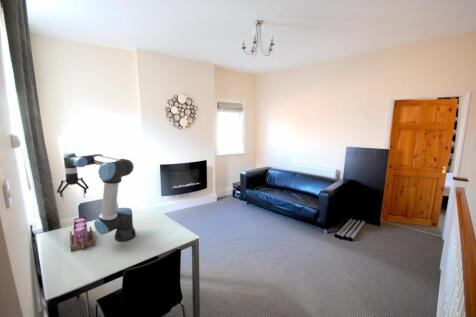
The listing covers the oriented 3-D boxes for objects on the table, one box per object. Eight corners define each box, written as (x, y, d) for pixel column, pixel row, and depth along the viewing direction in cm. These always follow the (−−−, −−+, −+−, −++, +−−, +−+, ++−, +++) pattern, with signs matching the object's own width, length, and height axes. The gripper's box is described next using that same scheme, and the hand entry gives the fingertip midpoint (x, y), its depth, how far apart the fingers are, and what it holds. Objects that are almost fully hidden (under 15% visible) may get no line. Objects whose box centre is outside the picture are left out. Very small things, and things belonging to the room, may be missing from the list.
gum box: (88, 245, 166) (86, 228, 164) (74, 248, 162) (72, 231, 159) (87, 232, 186) (86, 216, 183) (75, 234, 181) (74, 218, 179)
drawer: (91, 231, 189) (90, 222, 187) (94, 246, 166) (93, 236, 165) (70, 236, 180) (69, 226, 179) (70, 253, 158) (69, 242, 156)
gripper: (90, 170, 187) (92, 195, 191) (51, 173, 172) (54, 200, 176) (90, 171, 181) (93, 197, 185) (50, 175, 167) (53, 203, 170)
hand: (74, 199), depth 180 cm, fingers open, 13 cm apart
